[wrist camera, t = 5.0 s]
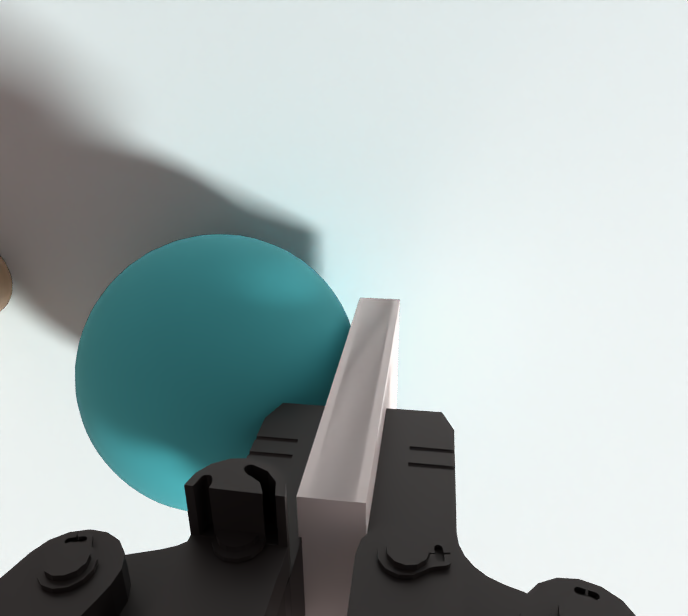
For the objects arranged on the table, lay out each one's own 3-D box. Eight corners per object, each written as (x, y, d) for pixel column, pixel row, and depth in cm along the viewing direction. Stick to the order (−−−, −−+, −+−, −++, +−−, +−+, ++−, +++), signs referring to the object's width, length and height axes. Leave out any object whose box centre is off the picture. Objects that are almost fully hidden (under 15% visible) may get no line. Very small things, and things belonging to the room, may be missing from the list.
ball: (182, 176, 16) (-16, 259, 10) (412, 237, 14) (311, 365, 9) (179, 373, 18) (22, 512, 13) (369, 439, 17) (275, 624, 12)
